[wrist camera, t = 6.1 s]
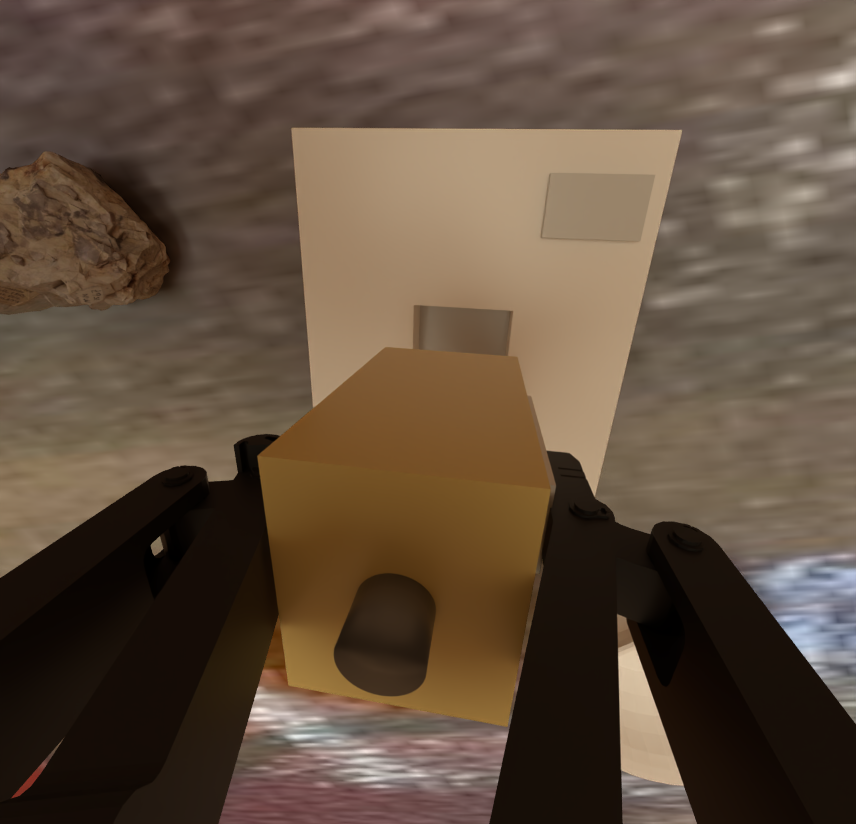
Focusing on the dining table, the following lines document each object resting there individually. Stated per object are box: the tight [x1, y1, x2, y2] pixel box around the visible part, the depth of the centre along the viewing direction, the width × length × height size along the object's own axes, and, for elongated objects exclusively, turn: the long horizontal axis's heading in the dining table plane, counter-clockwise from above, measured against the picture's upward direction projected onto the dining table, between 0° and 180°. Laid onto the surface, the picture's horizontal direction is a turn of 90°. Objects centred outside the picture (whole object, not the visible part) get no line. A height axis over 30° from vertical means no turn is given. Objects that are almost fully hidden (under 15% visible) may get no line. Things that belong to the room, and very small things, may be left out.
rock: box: [0, 152, 170, 315], centre depth 25 cm, size 9×12×10 cm
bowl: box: [617, 614, 684, 786], centre depth 31 cm, size 16×16×8 cm
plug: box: [257, 347, 551, 727], centre depth 13 cm, size 6×5×13 cm
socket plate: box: [291, 128, 682, 497], centre depth 26 cm, size 24×20×4 cm
